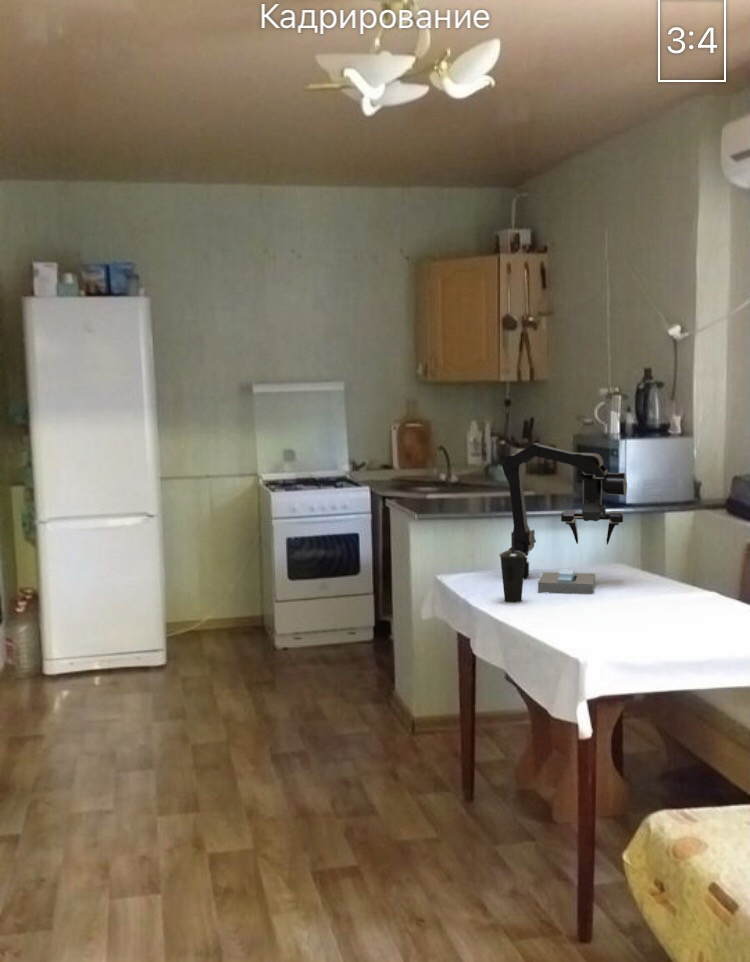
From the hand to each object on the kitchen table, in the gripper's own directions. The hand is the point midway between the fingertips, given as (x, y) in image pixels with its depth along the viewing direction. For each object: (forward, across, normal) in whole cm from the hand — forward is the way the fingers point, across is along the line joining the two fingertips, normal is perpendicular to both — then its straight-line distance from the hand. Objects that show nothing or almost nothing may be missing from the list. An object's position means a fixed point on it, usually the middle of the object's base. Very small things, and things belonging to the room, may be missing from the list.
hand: (592, 543), depth 326 cm
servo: (+12, -7, -10) cm, 17 cm away
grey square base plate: (+12, -7, -10) cm, 17 cm away
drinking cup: (+12, -21, -30) cm, 39 cm away
